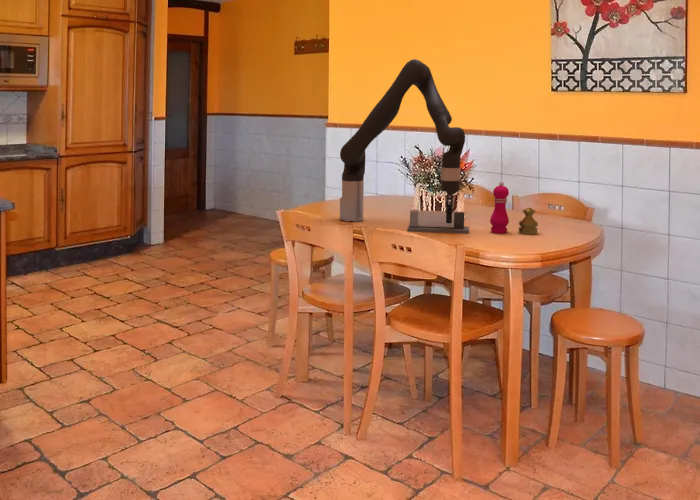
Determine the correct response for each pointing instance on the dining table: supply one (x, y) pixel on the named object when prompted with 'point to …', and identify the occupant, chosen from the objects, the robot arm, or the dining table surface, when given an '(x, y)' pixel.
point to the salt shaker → (528, 223)
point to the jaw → (440, 219)
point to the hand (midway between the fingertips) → (448, 222)
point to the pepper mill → (500, 210)
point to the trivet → (439, 229)
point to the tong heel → (414, 218)
